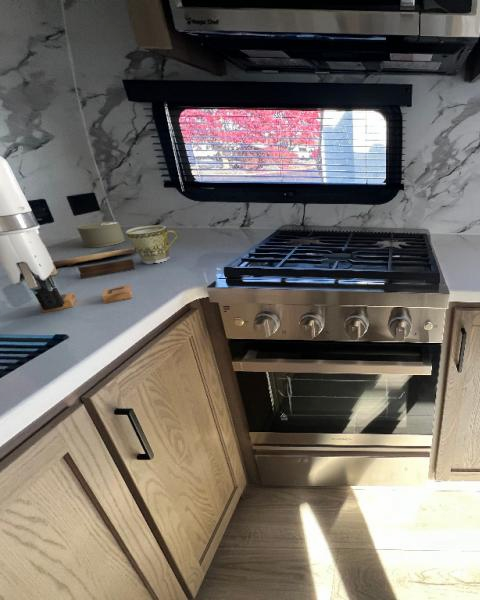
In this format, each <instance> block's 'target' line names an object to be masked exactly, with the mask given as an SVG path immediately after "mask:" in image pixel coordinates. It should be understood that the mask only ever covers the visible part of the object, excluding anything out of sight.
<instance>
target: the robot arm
mask: <svg viewBox="0 0 480 600" xmlns="http://www.w3.org/2000/svg"><path fill="white" fill-rule="evenodd" d="M40 228H41V226H40V223H39V222H38V219H37V218H36V216H35V214H34V212H33V210H32V208H31V206H30V204H29V202H28V200H27V198H26V196H25V194H24V192H23V190H22V188H21V186H20V184H19V181H18V180H17V178H16V176H15V173H14V172H13V170H12V167H11V166H10V164H9V162H8V161H7V160H6V158H5V157H3V156H2V155H0V263H1V265H2V267H3V269H4V271H5V273H6V276H7V277H8V279H9V281H10V283H11V284H12V285H14V286H19V285H21V283H23V281H24V280H25V282H26V285H27V287H28V289H29V290H30V291H32V293H33V294H34V296H35V297H36V299H37V301H38V303H39V305H41V307H42V308H43V310H50V309H54V308H59V307H63V305H64V301H63V299H62V297H61V295H62V294H60V292H59V289H58V288H57V287H56V284H55V281H54V280H53V276H51V275H50V274H51V272H52V271H53V269H54V266H53V263H52V261H53V260H52V261H51V259H52V257H51V255H50V253H49V251H48V249H47V247H46V246H45V247H46V248H45V247H44V245H45V244H44V245H43V243H44V242H43V243H42V241H43V240H42V241H41V239H42V238H41V239H40V238H39V235H38V234H37V233H36V231H35V229H38V230H39V229H40ZM46 249H47V250H46ZM47 251H48V252H47ZM48 253H49V254H48ZM49 255H50V256H49ZM50 257H51V258H50Z"/></svg>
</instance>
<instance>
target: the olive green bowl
mask: <svg viewBox="0 0 480 600" xmlns="http://www.w3.org/2000/svg"><path fill="white" fill-rule="evenodd" d="M75 228H76V230H77V232H78V233H79V235H80V237H81V240H82V242H83V244H84V247H85V248H91V249H94V248H96V247H97V248H104V247H105V246H106V247H111V246H110V245H112V246H115V245H114V244H116V245H119V244H118V243H120V244H122V243H124V242H125V241H126V239H125V236H124V233H123V231H122V227H121V224H120V222H119V221H117V220H105V221H94V222H89V223H84V224H80V225H78V226H76V227H75ZM123 241H124V242H123ZM121 242H122V243H121ZM97 248H96V249H97Z"/></svg>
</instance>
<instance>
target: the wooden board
mask: <svg viewBox="0 0 480 600" xmlns="http://www.w3.org/2000/svg"><path fill="white" fill-rule="evenodd" d="M136 252H137V250H136V249H135V247H134V248H126V249H119V250H112V251H111V250H110V251H105V252H99V253H93V254H88V255H83V256H78V257H72V258H65V259H60V260H59V259H58V260H55V261H54V260H53V264H54V266H55V268H60V267H64V266H68V267H71V266H74V265H75V264H79V263H83V262H88V261H95V260H103V259H104V258H111V257H115V256H122V255H128V254H136Z"/></svg>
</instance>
